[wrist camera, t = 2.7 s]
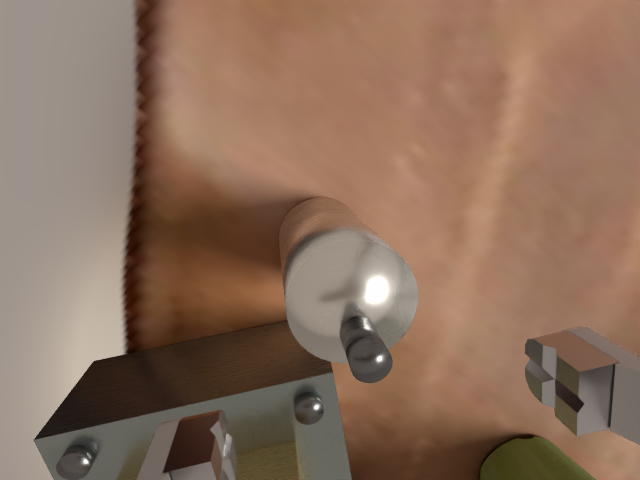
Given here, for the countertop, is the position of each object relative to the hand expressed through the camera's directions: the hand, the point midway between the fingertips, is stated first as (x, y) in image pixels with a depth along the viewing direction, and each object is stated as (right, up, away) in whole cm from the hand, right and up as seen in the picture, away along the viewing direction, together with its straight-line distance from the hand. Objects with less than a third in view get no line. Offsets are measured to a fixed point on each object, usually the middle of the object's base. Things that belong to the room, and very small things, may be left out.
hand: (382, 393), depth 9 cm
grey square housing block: (-7, -10, +16) cm, 20 cm away
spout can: (-2, +4, +13) cm, 13 cm away
